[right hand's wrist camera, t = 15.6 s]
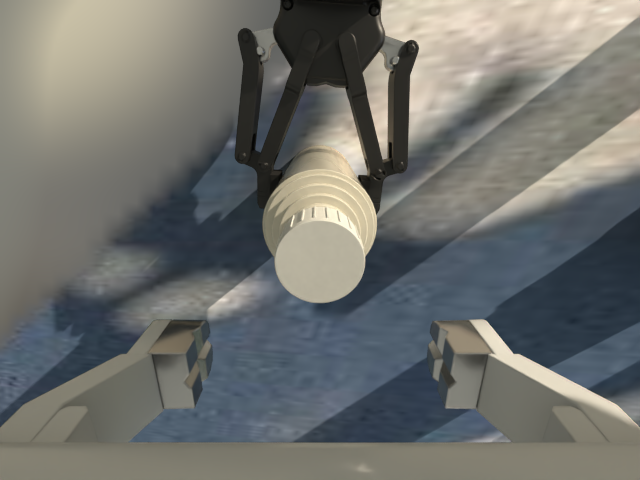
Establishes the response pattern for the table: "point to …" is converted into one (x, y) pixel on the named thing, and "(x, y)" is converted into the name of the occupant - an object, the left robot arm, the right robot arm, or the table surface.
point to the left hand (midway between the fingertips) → (316, 243)
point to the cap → (319, 255)
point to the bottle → (319, 194)
